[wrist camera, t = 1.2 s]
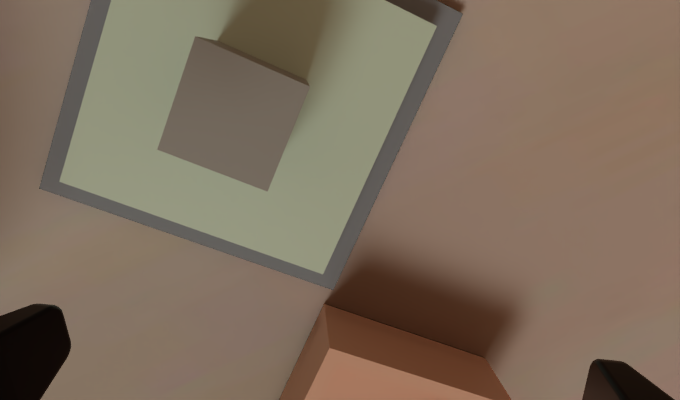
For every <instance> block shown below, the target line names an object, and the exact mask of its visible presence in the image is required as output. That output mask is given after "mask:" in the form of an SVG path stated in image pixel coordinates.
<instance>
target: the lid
mask: <svg viewBox="0 0 680 400" xmlns="http://www.w3.org/2000/svg"><path fill="white" fill-rule="evenodd" d="M436 27H437V26H436V25H434V24H432V23H430V22H428V21H426V20H424V19H422V18H420V17H418V16H416V15H414V14H412V13H410V12H408V11H406V10H404V9H402V8H400V7H398V6H396V5H394V4H392V3H390V2H388V1H386V0H111V3H110V6H109V10H108V13H107V17H106V20H105V24H104V27H103V31H102V34H101V38H100V41H99V45H98V48H97V52H96V55H95V59H94V62H93V66H92V69H91V73H90V76H89V80H88V83H87V87H86V90H85V94H84V97H83V101H82V104H81V108H80V111H79V115H78V118H77V122H76V125H75V129H74V132H73V136H72V139H71V143H70V146H69V150H68V153H67V157H66V160H65V164H64V167H63V171H62V174H61V178H60V181H59V182H62V183H64V184H67V185H70V186H73V187H76V188H79V189H82V190H84V191H87V192H90V193H93V194H96V195H99V196H101V197H104V198H107V199H110V200H113V201H116V202H118V203H121V204H124V205H127V206H130V207H133V208H136V209H138V210H141V211H144V212H147V213H150V214H153V215H155V216H158V217H161V218H164V219H167V220H170V221H172V222H175V223H178V224H181V225H184V226H187V227H190V228H192V229H195V230H198V231H201V232H204V233H207V234H209V235H212V236H215V237H218V238H221V239H224V240H226V241H229V242H232V243H235V244H238V245H241V246H244V247H246V248H249V249H252V250H255V251H258V252H261V253H263V254H266V255H269V256H272V257H275V258H278V259H280V260H283V261H286V262H289V263H292V264H295V265H297V266H300V267H303V268H306V269H309V270H312V271H315V272H317V273H320V274H323V273H324V271H325V269H326V267H327V265H328V262H329V260H330V258H331V256H332V254H333V252H334V249H335V247H336V245H337V243H338V241H339V238H340V236H341V234H342V232H343V230H344V228H345V225H346V223H347V221H348V219H349V217H350V215H351V212H352V210H353V208H354V206H355V204H356V201H357V199H358V197H359V195H360V193H361V191H362V188H363V186H364V184H365V182H366V180H367V177H368V175H369V173H370V171H371V169H372V167H373V164H374V162H375V160H376V158H377V156H378V154H379V151H380V149H381V147H382V145H383V143H384V140H385V138H386V136H387V134H388V132H389V130H390V127H391V125H392V123H393V121H394V119H395V117H396V114H397V112H398V110H399V108H400V106H401V103H402V101H403V99H404V97H405V95H406V93H407V90H408V88H409V86H410V84H411V82H412V79H413V77H414V75H415V73H416V71H417V69H418V66H419V64H420V62H421V60H422V58H423V56H424V53H425V51H426V49H427V47H428V45H429V42H430V40H431V38H432V36H433V34H434V32H435V29H436Z"/></svg>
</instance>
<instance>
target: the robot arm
mask: <svg viewBox="0 0 680 400" xmlns="http://www.w3.org/2000/svg"><path fill="white" fill-rule="evenodd" d="M70 348H71V341H70V337H69V333H68V330H67V326H66V323H65V319H64V315H63V312H62V310H61V309H60V308H59V307H58V306H55V305H48V304H33V305H30V306H27V307H24V308H21V309H18V310H16V311H13V312H10V313H7V314H5V315H2V316H0V400H40V399H41V397H42V396H43V394H44V393H45V391H46V390H47V388H48V387H49V385H50V383H51V382H52V380H53V379H54V377H55V376H56V374H57V373H58V371H59V369H60V368H61V366H62V365H63V363H64V362H65V360H66V359H67V357H68V355H69V352H70ZM582 400H674V399H673V398H672V397H670V396H669V395H668V394H666V393H665V392H664V391H662V390H661V389H660V388H658V387H657V386H656V385H654V384H653V383H652V382H650V381H649V380H648V379H646V378H645V377H644V376H643V375H641V374H640V373H639V372H637V371H636V370H635V369H633V368H632V367H631V366H629V365H628V364H626V363H624V362H622V361H614V360H604V359H596V360H594V361H593V362H592V364H591V365H590V369H589V373H588V377H587V381H586V386H585V390H584V394H583V399H582Z"/></svg>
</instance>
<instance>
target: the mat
mask: <svg viewBox="0 0 680 400" xmlns="http://www.w3.org/2000/svg"><path fill="white" fill-rule="evenodd" d="M386 1H388V2H390V3H392V4H394V5H396V6H398V7H400V8H402V9H404V10H406V11H408V12H410V13H412V14H414V15H416V16H418V17H420V18H422V19H424V20H426V21H428V22H430V23H432V24H434V25H436V26H437V27H436V29H435V32H434V34H433V36H432V38H431V40H430V42H429V45H428V47H427V49H426V51H425V53H424V56H423V58H422V60H421V62H420V64H419V66H418V69H417V71H416V73H415V75H414V77H413V79H412V82H411V84H410V86H409V88H408V90H407V93H406V95H405V97H404V99H403V101H402V103H401V106H400V108H399V110H398V112H397V114H396V117H395V119H394V121H393V123H392V125H391V127H390V130H389V132H388V134H387V136H386V138H385V140H384V143H383V145H382V147H381V149H380V151H379V154H378V156H377V158H376V160H375V162H374V164H373V167H372V169H371V171H370V173H369V175H368V177H367V180H366V182H365V184H364V186H363V188H362V191H361V193H360V195H359V197H358V199H357V201H356V204H355V206H354V208H353V210H352V212H351V215H350V217H349V219H348V221H347V223H346V225H345V228H344V230H343V232H342V234H341V236H340V238H339V241H338V243H337V245H336V247H335V249H334V252H333V254H332V256H331V258H330V260H329V262H328V265H327V267H326V269H325V271H324V273H323V274H320V273H317V272H315V271H312V270H309V269H306V268H303V267H300V266H297V265H295V264H292V263H289V262H286V261H283V260H280V259H278V258H275V257H272V256H269V255H266V254H263V253H261V252H258V251H255V250H252V249H249V248H246V247H244V246H241V245H238V244H235V243H232V242H229V241H226V240H224V239H221V238H218V237H215V236H212V235H209V234H207V233H204V232H201V231H198V230H195V229H192V228H190V227H187V226H184V225H181V224H178V223H175V222H172V221H170V220H167V219H164V218H161V217H158V216H155V215H153V214H150V213H147V212H144V211H141V210H138V209H136V208H133V207H130V206H127V205H124V204H121V203H118V202H116V201H113V200H110V199H107V198H104V197H101V196H99V195H96V194H93V193H90V192H87V191H84V190H82V189H79V188H76V187H73V186H70V185H67V184H64V183H62V182H59V181H60V178H61V174H62V171H63V167H64V164H65V160H66V157H67V153H68V150H69V146H70V143H71V139H72V136H73V132H74V129H75V125H76V122H77V118H78V115H79V111H80V108H81V104H82V101H83V97H84V94H85V90H86V87H87V83H88V80H89V76H90V73H91V69H92V66H93V62H94V59H95V55H96V52H97V48H98V45H99V41H100V38H101V34H102V31H103V27H104V24H105V20H106V17H107V13H108V10H109V6H110V3H111V0H91V2H90V6H89V10H88V13H87V17H86V21H85V24H84V28H83V31H82V35H81V39H80V42H79V46H78V50H77V53H76V57H75V60H74V64H73V68H72V71H71V75H70V79H69V82H68V86H67V90H66V93H65V97H64V100H63V104H62V108H61V111H60V115H59V119H58V122H57V126H56V129H55V133H54V137H53V140H52V144H51V148H50V151H49V155H48V158H47V162H46V166H45V169H44V173H43V177H42V180H41V184H40V188H39V189H42V190H45V191H48V192H51V193H54V194H57V195H60V196H63V197H65V198H68V199H71V200H74V201H77V202H80V203H83V204H86V205H89V206H91V207H94V208H97V209H100V210H103V211H106V212H109V213H112V214H115V215H117V216H120V217H123V218H126V219H129V220H132V221H135V222H138V223H141V224H143V225H146V226H149V227H152V228H155V229H158V230H161V231H164V232H167V233H169V234H172V235H175V236H178V237H181V238H184V239H187V240H190V241H193V242H195V243H198V244H201V245H204V246H207V247H210V248H213V249H216V250H219V251H221V252H224V253H227V254H230V255H233V256H236V257H239V258H242V259H245V260H247V261H250V262H253V263H256V264H259V265H262V266H265V267H268V268H271V269H273V270H276V271H279V272H282V273H285V274H288V275H291V276H294V277H297V278H299V279H302V280H305V281H308V282H311V283H314V284H317V285H320V286H323V287H325V288H328V289H331V290H333V289H334V287H335V285H336V283H337V281H338V279H339V277H340V274H341V272H342V270H343V268H344V266H345V264H346V262H347V260H348V257H349V255H350V253H351V251H352V249H353V247H354V245H355V243H356V240H357V238H358V236H359V234H360V232H361V230H362V228H363V226H364V223H365V221H366V219H367V217H368V215H369V213H370V211H371V208H372V206H373V204H374V202H375V200H376V198H377V196H378V194H379V191H380V189H381V187H382V185H383V183H384V181H385V179H386V177H387V174H388V172H389V170H390V168H391V166H392V164H393V162H394V160H395V157H396V155H397V153H398V151H399V149H400V147H401V145H402V142H403V140H404V138H405V136H406V134H407V132H408V130H409V128H410V125H411V123H412V121H413V119H414V117H415V115H416V113H417V111H418V108H419V106H420V104H421V102H422V100H423V98H424V96H425V94H426V91H427V89H428V87H429V85H430V83H431V81H432V79H433V76H434V74H435V72H436V70H437V68H438V66H439V64H440V62H441V59H442V57H443V55H444V53H445V51H446V49H447V47H448V45H449V42H450V40H451V38H452V36H453V34H454V32H455V30H456V28H457V25H458V23H459V21H460V19H461V17H462V15H463V14H462V13H460V12H458V11H456V10H454V9H452V8H450V7H449V6H447V5H445V4H443V3H441V2H439V1H437V0H386Z"/></svg>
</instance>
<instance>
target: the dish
mask: <svg viewBox="0 0 680 400" xmlns="http://www.w3.org/2000/svg"><path fill="white" fill-rule="evenodd" d="M279 400H511V398H510V397H509V395H508V394H507V392H506V390H505V389H504V387H503V386H502V384H501V383H500V381H499V379H498V378H497V376H496V375H495V373H494V371H493V370H492V368H491V367H490V365H489V364H488V362H487V360H486V359H485V358H483V357H480V356H477V355H474V354H471V353H468V352H465V351H462V350H459V349H456V348H453V347H450V346H447V345H444V344H441V343H438V342H436V341H433V340H430V339H427V338H424V337H421V336H418V335H415V334H412V333H409V332H406V331H403V330H400V329H397V328H394V327H391V326H388V325H385V324H382V323H379V322H376V321H373V320H370V319H368V318H365V317H362V316H359V315H356V314H353V313H350V312H347V311H344V310H341V309H338V308H335V307H332V306H329V305H326V304H324V305H323V307H322V309H321V312H320V314H319V316H318V318H317V320H316V322H315V324H314V327H313V329H312V331H311V333H310V335H309V337H308V339H307V342H306V344H305V346H304V348H303V350H302V352H301V354H300V356H299V359H298V361H297V363H296V365H295V367H294V369H293V371H292V374H291V376H290V378H289V380H288V382H287V384H286V386H285V389H284V391H283V393H282V395H281V397H280V399H279Z"/></svg>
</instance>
